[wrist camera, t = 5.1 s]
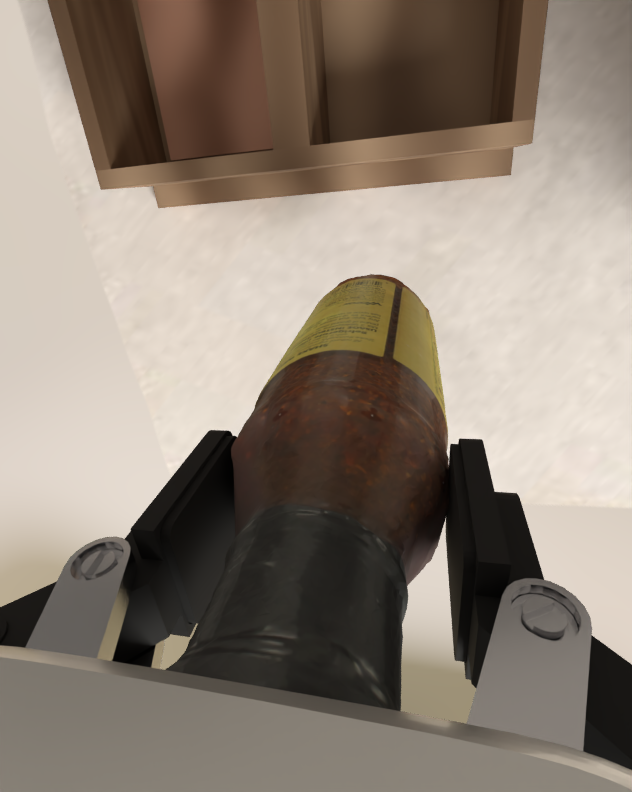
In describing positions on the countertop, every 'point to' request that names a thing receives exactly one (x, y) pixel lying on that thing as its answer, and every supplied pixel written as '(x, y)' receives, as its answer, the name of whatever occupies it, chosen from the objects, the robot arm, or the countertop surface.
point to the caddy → (300, 92)
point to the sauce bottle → (333, 504)
